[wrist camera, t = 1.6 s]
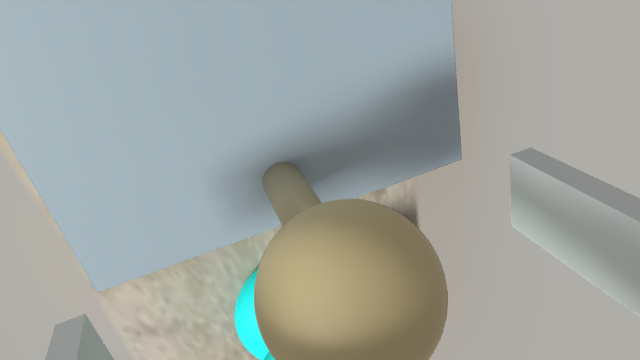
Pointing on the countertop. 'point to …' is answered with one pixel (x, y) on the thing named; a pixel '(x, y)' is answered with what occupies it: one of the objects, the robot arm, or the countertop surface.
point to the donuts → (250, 321)
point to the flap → (245, 150)
